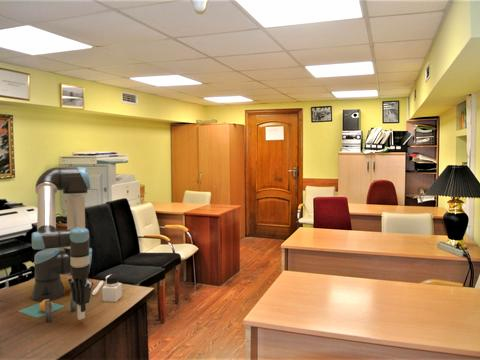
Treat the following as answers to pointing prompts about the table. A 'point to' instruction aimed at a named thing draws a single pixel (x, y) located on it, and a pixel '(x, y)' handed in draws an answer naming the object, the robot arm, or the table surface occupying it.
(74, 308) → the post
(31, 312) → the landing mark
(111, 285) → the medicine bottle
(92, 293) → the marker
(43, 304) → the ball
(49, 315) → the post
